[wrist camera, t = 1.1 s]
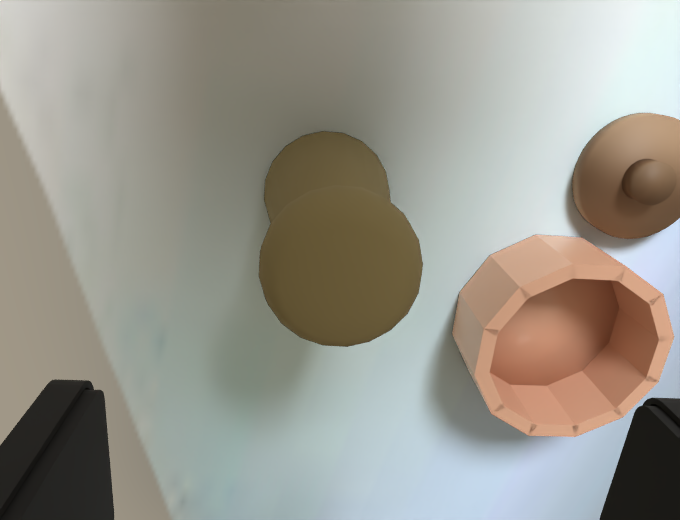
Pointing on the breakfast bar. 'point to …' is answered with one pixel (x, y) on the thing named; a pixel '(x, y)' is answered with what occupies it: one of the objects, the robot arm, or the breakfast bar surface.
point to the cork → (336, 243)
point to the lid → (630, 176)
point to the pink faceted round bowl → (561, 335)
